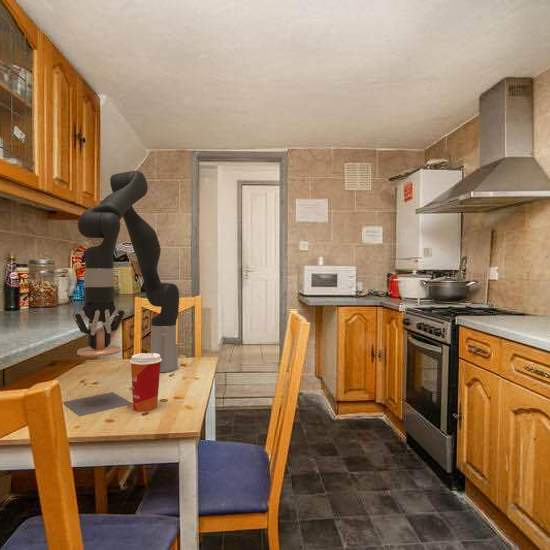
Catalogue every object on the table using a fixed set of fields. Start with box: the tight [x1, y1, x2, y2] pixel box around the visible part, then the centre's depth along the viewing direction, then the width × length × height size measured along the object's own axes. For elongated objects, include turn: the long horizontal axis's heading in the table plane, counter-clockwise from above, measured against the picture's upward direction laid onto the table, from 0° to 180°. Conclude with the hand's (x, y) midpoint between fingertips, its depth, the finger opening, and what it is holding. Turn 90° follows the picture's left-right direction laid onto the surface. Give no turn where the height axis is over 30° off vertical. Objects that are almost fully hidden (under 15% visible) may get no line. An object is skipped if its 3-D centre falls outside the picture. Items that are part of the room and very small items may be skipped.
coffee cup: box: [129, 352, 162, 413], centre depth 105 cm, size 8×8×15 cm
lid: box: [76, 329, 122, 358], centre depth 108 cm, size 11×11×6 cm
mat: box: [63, 391, 133, 417], centre depth 108 cm, size 14×14×1 cm
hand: (99, 347), depth 108 cm, fingers closed on lid, 2 cm apart
